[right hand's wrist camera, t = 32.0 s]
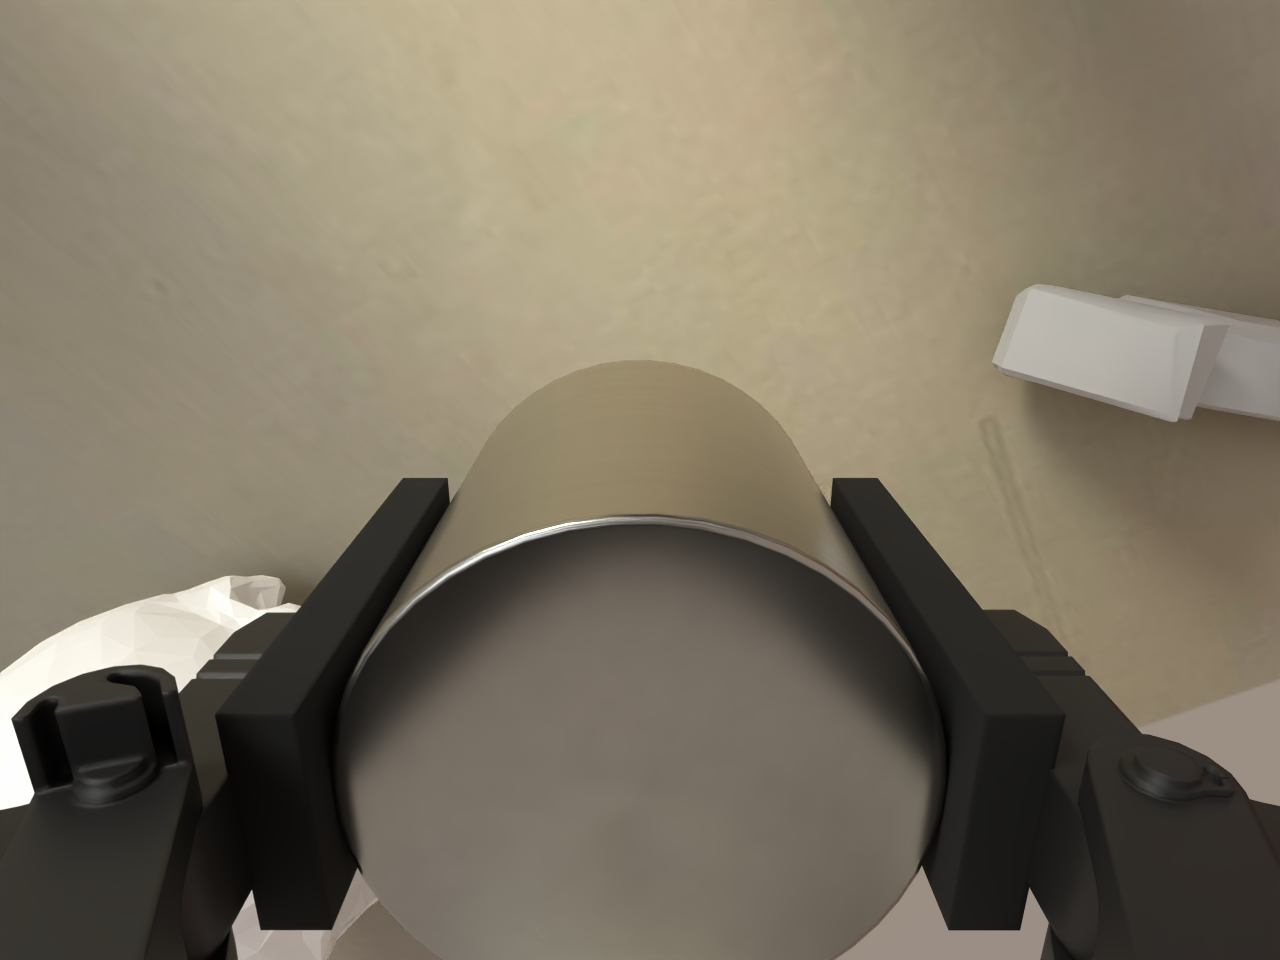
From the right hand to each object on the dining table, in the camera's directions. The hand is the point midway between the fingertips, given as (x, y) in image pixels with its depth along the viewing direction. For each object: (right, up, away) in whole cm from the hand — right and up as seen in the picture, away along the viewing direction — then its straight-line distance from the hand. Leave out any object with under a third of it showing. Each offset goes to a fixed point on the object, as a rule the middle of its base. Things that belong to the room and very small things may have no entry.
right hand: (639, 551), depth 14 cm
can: (0, 0, +1) cm, 1 cm away
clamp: (+24, +6, +20) cm, 32 cm away
